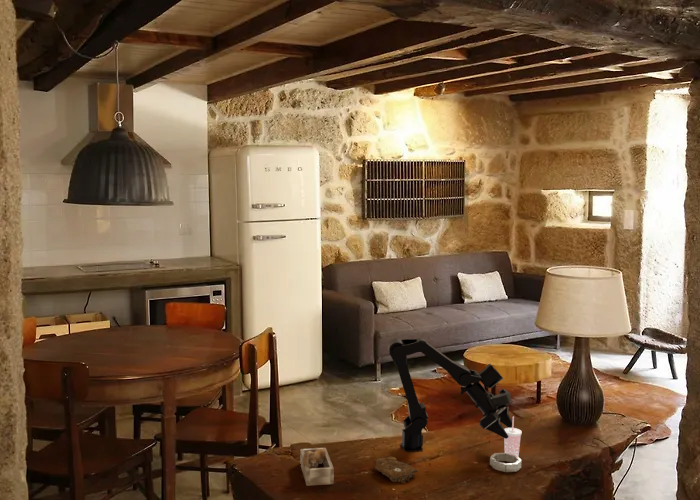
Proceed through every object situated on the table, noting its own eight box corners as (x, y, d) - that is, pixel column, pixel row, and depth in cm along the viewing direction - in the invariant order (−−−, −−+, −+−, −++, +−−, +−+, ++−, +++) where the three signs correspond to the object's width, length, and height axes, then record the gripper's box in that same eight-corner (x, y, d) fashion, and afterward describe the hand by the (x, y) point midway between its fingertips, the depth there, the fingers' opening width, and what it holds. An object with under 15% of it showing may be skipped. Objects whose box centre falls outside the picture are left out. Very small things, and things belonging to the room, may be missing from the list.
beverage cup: (524, 457, 243) (526, 417, 241) (511, 461, 239) (513, 421, 238) (511, 451, 248) (512, 412, 246) (498, 454, 244) (500, 415, 243)
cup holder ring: (497, 472, 230) (497, 465, 230) (486, 460, 239) (486, 453, 239) (525, 470, 232) (525, 463, 231) (513, 459, 241) (513, 452, 241)
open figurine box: (306, 485, 218) (306, 470, 217) (300, 463, 234) (300, 449, 233) (333, 483, 219) (333, 468, 219) (325, 462, 235) (325, 447, 235)
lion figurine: (314, 482, 219) (314, 455, 218) (298, 480, 221) (298, 452, 220) (331, 464, 233) (331, 438, 232) (316, 462, 235) (316, 436, 234)
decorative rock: (364, 471, 230) (396, 489, 219) (364, 460, 229) (396, 477, 218) (389, 461, 237) (422, 478, 226) (389, 449, 237) (422, 466, 225)
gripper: (490, 391, 235) (522, 429, 231) (504, 376, 251) (534, 412, 248) (466, 409, 239) (497, 447, 236) (481, 394, 256) (510, 429, 252)
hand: (510, 433), depth 243 cm, fingers open, 9 cm apart
